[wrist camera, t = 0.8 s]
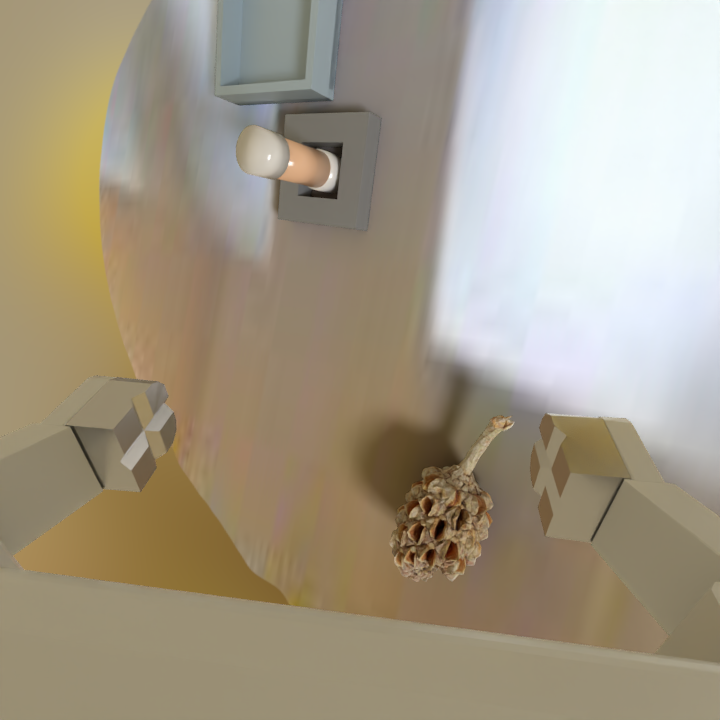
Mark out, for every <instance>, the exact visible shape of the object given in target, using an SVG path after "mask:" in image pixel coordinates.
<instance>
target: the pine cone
mask: <svg viewBox="0 0 720 720" xmlns="http://www.w3.org/2000/svg"><path fill="white" fill-rule="evenodd" d="M510 417H512V416H509V417H503V416H497V417H493V418H492V419H490V423H489V424H488V426H487V427H486V429H485V430H484V432H483V433H482V434H481V435H480V436H479V438H478V440H477V441H476V442H475V443H474V444H473V445H472V446H471V449H470V451H469V452H468V453H467V455H466V457H465V459H464V460H463V461H462V462H461V463H460V464H458V465H453V466H452V467H448V466H446V467H443V469H440V468H438V467H428V468H425V469H423V472H422V478H423V480H422V481H418V482H415V483H413V484H412V485H411V487H412V489H411V491H410V492H408V493H407V494H406V501H407V504H405V505H402V506H400V507H399V508H398V509H397V512H398V514H397V518H396V519H395V521H396V524H397V527H398V528H397V530H394V531H393V532H392V536H391V537H392V538H391V540H390V545H391V547H392V554H393V555H394V556H395V558H394V561H395V565H397V567H398V569H399V570H400V572H401V574H402V576H405V577H409V578H410V579H412V580H413V581H415V582H419V580H420V579H423V581H425V582H426V581H427V579H428V578H431V577H432V575H433V572H435V571H437V570H440V571H442V574H444V575H445V576H446V578H447V579H449V580H450V581H453V580H454V579H455V578H456V577H457V576H458V575H460V574H461V575H464V571H465V568H466V565H468V566H471V565H475V561H476V558H477V557H479V556H481V545H480V541H481V540H484V539H486V538H488V530H487V529H488V528H489V526H490V525H491V523H492V519H491V517H490V515H489V514H488V513H487V512H486V510H490V509H491V508H492V507H493V505H494V504H493V502H492V500H491V497H490V495H489V494H488V493H487V492H485V491H483V490H482V489H481V488H479V485H478V484H477V482H476V481H475V478H474V475H473V472H472V470H473V469H474V467H475V465H476V464H477V462H478V460H479V458H480V456H481V455H482V454H483V453H484V451H485V450H486V448H487V447H488V445H489V444H490V442H491V441H492V440H493V439H494V438H495V437H496V436H497V435H498V434H499V433H500V432H501V431H504V430H507V429H509V428H511V427H512V426H513V424H514V423H515V422H513V421H511V420H509V418H510Z"/></svg>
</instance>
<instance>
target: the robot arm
mask: <svg viewBox="0 0 720 720" xmlns="http://www.w3.org/2000/svg"><path fill="white" fill-rule="evenodd" d="M167 398H168V394H167V391H166V389H165V386H164V384H162V383H160V382H157V381H148V380H138V379H129V378H119V377H117V378H115V377H106V376H93V377H90V378H88V379H87V380H86V381H84V383H82V384H81V385H80V386H79V387H78V388H77V389H76V390H75V391H74V392H73V393H72V394H71V395H70V396H68V397H67V398H66V399H65V401H63V402H62V403H61V404H60V405H59V406H58V407H57V408H56V409H55V410H54V411H53V412H51V413H50V414H49V415H48V416H47V417H46V418H45V419H44V420H43V421H42V422H41V423H40V424H38V423H32V424H30V425H27V426H25V427H23V428H21V429H18V430H16V431H14V432H11V433H9V434H7V435H4V436H2V437H0V720H720V517H719V516H718V515H716V514H715V513H714V512H712V511H711V510H709V509H708V508H707V507H705V506H704V505H703V504H701V503H700V502H698V501H697V500H696V499H694V498H693V497H691V496H690V495H689V494H687V493H686V492H685V491H683V490H682V489H680V488H679V487H678V486H676V485H675V484H670V483H665V482H664V480H663V478H662V476H661V475H660V473H659V471H658V469H657V467H656V466H655V464H654V462H653V460H652V459H651V457H650V455H649V453H648V451H647V450H646V448H645V446H644V444H643V443H642V441H641V439H640V437H639V435H638V434H637V432H636V430H635V428H634V426H633V425H632V423H631V422H630V421H629V420H628V419H626V418H612V417H589V416H576V415H562V414H549V413H546V414H545V415H544V417H543V418H542V421H541V424H540V427H539V429H540V432H541V436H542V439H540V440H539V441H537V442H536V443H534V446H533V450H532V454H531V462H530V473H531V481H532V485H533V489H534V490H535V491H536V492H537V493H538V494H539V495H540V496H541V499H540V502H539V505H538V510H539V514H540V518H541V522H542V526H543V530H544V534H545V536H546V537H553V538H560V539H568V540H575V541H582V542H590V543H591V546H592V547H593V548H594V549H595V550H596V552H597V553H598V554H599V555H600V556H601V557H602V559H603V560H604V561H605V562H606V563H607V564H608V566H609V567H610V568H611V569H612V570H613V571H614V573H615V574H616V575H617V576H618V577H619V578H620V579H621V581H622V582H623V583H624V584H625V585H626V586H627V588H628V589H629V590H630V591H631V592H632V593H633V595H634V596H635V597H636V598H637V599H638V600H639V602H640V603H641V604H642V605H643V606H644V607H645V609H646V610H647V611H648V612H649V613H650V614H651V616H652V617H653V618H654V619H655V620H656V621H657V623H658V624H659V625H660V626H661V627H662V628H663V630H664V631H665V632H666V633H667V634H668V635H669V637H668V638H667V639H666V640H665V641H664V643H663V644H662V645H661V646H660V647H659V648H658V650H657V651H656V652H655V653H654V654H650V653H642V652H635V651H627V650H620V649H612V648H605V647H597V646H590V645H582V644H575V643H567V642H560V641H552V640H545V639H537V638H530V637H522V636H515V635H508V634H500V633H493V632H485V631H478V630H470V629H463V628H455V627H448V626H440V625H433V624H425V623H418V622H410V621H403V620H395V619H388V618H380V617H373V616H365V615H358V614H351V613H343V612H336V611H328V610H321V609H313V608H306V607H298V606H291V605H283V604H275V603H267V602H260V601H253V600H245V599H238V598H230V597H222V596H215V595H207V594H200V593H192V592H185V591H177V590H169V589H162V588H154V587H147V586H140V585H132V584H125V583H117V582H110V581H103V580H95V579H88V578H80V577H73V576H65V575H58V574H50V573H42V572H35V571H28V570H24V569H23V568H22V567H21V565H20V564H19V563H18V562H17V561H16V559H15V558H14V557H13V555H15V554H16V553H17V552H19V551H20V550H21V549H23V548H24V547H26V546H27V545H29V544H30V543H31V542H33V541H34V540H35V539H37V538H38V537H40V536H41V535H42V534H44V533H45V532H46V531H48V530H49V529H51V528H52V527H54V526H55V525H56V524H58V523H59V522H61V521H62V520H63V519H65V518H66V517H67V516H69V515H70V514H72V513H73V512H74V511H76V510H77V509H79V508H80V507H81V506H82V505H84V504H86V503H87V502H88V501H90V500H91V499H92V498H94V497H95V496H97V495H98V494H99V493H101V492H102V491H103V489H110V490H124V491H135V492H141V491H142V489H143V488H144V486H145V485H146V483H147V482H148V480H149V478H150V477H151V476H152V474H153V473H154V471H155V470H156V462H155V459H157V458H158V457H160V456H162V455H163V454H165V453H166V452H167V451H168V449H169V448H170V446H171V445H172V443H173V441H174V437H175V433H176V419H175V415H174V412H173V411H172V410H171V409H170V408H169V407H168V406H167V405H166V404H165V401H166V400H167Z"/></svg>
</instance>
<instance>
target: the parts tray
mask: <svg viewBox="0 0 720 720" xmlns="http://www.w3.org/2000/svg"><path fill="white" fill-rule="evenodd" d="M342 6H343V0H218V12H217V43H216V74H215V96H217V97H220V98H222V99H225V100H227V101H230V102H232V103H235V104H237V105H255V104H275V103H296V102H316V101H333V96H334V86H335V76H336V66H337V56H338V46H339V36H340V26H341V16H342Z"/></svg>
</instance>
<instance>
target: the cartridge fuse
mask: <svg viewBox="0 0 720 720" xmlns="http://www.w3.org/2000/svg"><path fill="white" fill-rule="evenodd" d="M236 157H237V161H238V164H239V166H240V168H241V169H242V170H243V171H244V172H245V173H247V174H251V175H255V176H259V177H263V178H267V179H280V180H284V181H288V182H292V183H296V184H301V185H305V186H308V187H309V188H311V189H313V190H318V191H322V192H326V193H336V192H338V186H339V177H340V168H341V158H342V157H340V156H339V155H336V154H333V153H330V152H328V151H325V150H322V149H314V148H311V147H308V146H305V145H303V144H300V143H297V142H294V141H292V140H289V139H286V138H284V137H283V136H282V135H281V134H278V133H276V132H273V131H270V130H268V129H265V128H262V127H259V126H256V125H250V126H248V127H246V128H245V129H244V130H243V131H242V132H241V134H240V136H239V138H238V141H237V146H236Z"/></svg>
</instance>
